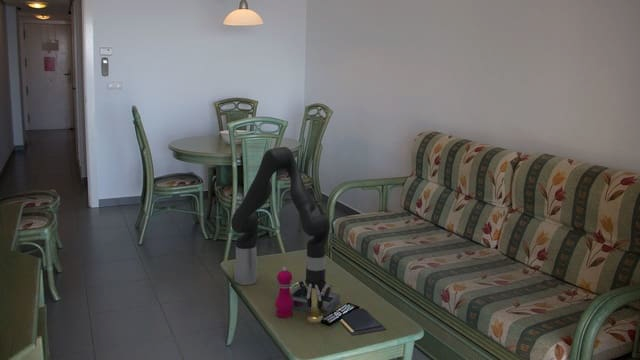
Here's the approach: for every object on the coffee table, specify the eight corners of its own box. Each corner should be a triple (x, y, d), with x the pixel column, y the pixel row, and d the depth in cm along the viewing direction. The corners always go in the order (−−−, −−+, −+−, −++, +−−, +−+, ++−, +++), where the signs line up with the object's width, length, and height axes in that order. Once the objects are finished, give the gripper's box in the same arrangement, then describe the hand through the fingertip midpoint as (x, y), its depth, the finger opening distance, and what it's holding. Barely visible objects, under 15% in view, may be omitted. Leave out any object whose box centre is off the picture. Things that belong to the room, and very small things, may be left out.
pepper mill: (286, 319, 221) (286, 272, 216) (271, 315, 224) (271, 268, 220) (296, 313, 227) (297, 266, 222) (282, 308, 230) (282, 262, 226)
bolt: (304, 321, 220) (304, 288, 217) (310, 314, 226) (311, 282, 223) (319, 324, 217) (319, 291, 214) (325, 318, 223) (326, 285, 220)
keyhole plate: (284, 306, 232) (284, 298, 231) (299, 294, 245) (299, 286, 244) (326, 316, 225) (327, 307, 224) (339, 302, 237) (340, 294, 236)
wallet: (387, 327, 214) (350, 333, 209) (387, 331, 214) (350, 337, 209) (365, 305, 232) (331, 310, 227) (365, 309, 232) (330, 315, 227)
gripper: (295, 266, 216) (294, 307, 220) (328, 272, 211) (327, 315, 214) (303, 260, 223) (302, 300, 226) (336, 266, 217) (335, 307, 221)
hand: (315, 307), depth 220 cm, fingers open, 3 cm apart
